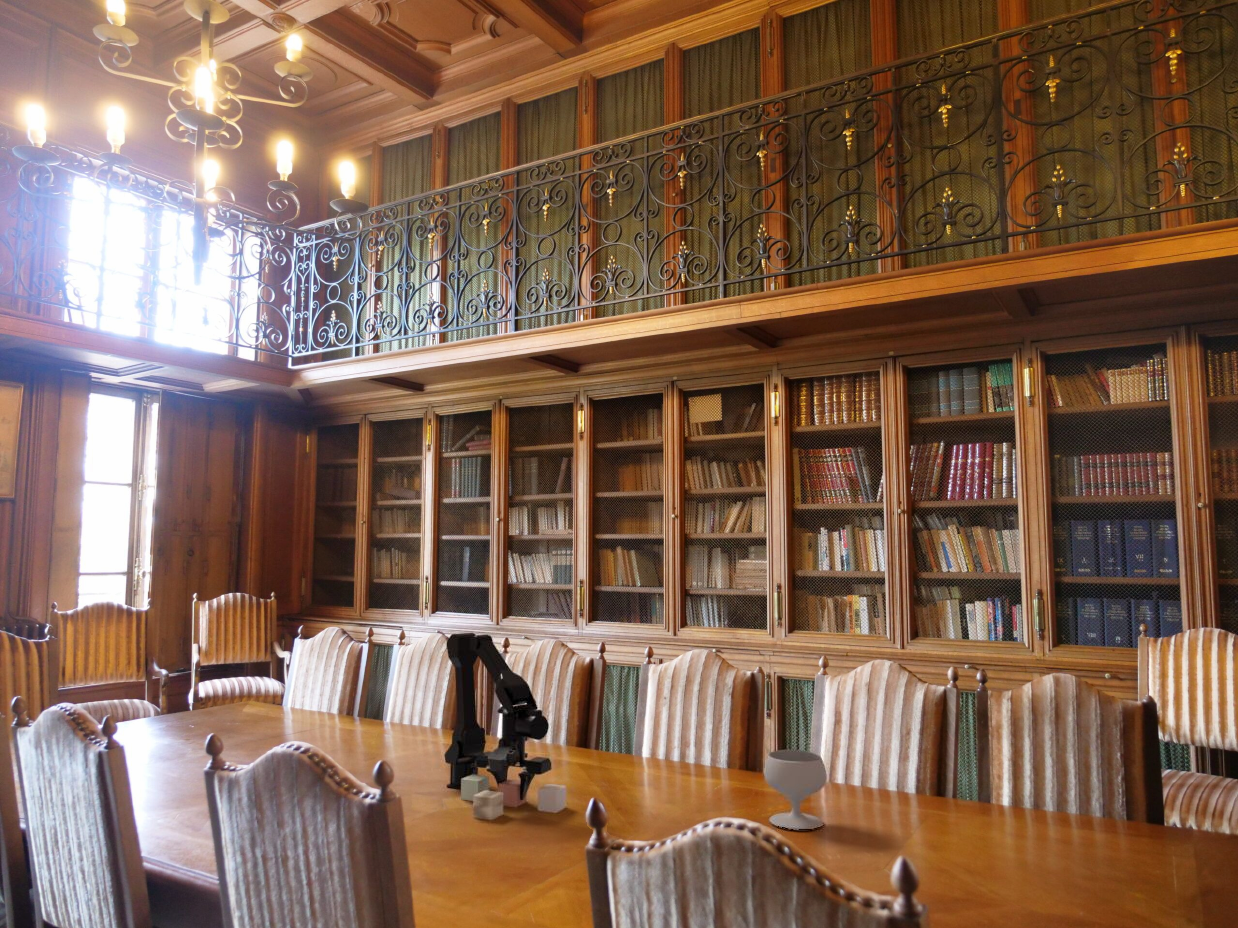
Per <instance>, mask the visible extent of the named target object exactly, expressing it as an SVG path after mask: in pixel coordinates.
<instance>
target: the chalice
mask: <svg viewBox="0 0 1238 928" xmlns="http://www.w3.org/2000/svg"><path fill="white" fill-rule="evenodd" d="M763 772H764V773H763V774H764V780H765V782H766V783H767V785H768V786H769V787H770V788H772V790H775V792H777V793H779V794H780V795H782V796H784V797H785V798H787V800H788V801H789V802H790V805H791V811H790V812H780V813H776V814H774V815H771V817H769V819H768V821H769V823H770V822H771V823H770V824H772V826H775V827H778V826H779V827H778V828H780V829H783V828H782V827H785V828H788V829H787V830H791V829H793V830H792V831H800V830H799V829H810V828H815V827H818V826H821V825H822V824H823V823H824V821H823V820H822V819H821V818H820V817H818V816H815V815H813V814H809V813H804V812H803V813H802V812H801V805H802V803H803V802H804V800H805V799H807V798H808V797H811V796H812V795H814V794H817V793H818V792H820V791H821V790H822V789H823V788H824V786H825V785H826V783H827V777H828V776H827V770H826V767H825V763H824V761H823V759H822V757H821V755H820V754H818V753H816V752H813V751H809V750H803V749H780V750H779V749H778V750H773V751H771V752H769V754H768V756H767V758H766V761H765V765H764V771H763ZM822 821H823V822H822ZM823 825H824V824H823ZM785 828H784V829H785Z"/></svg>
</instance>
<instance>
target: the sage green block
mask: <svg viewBox="0 0 1238 928" xmlns="http://www.w3.org/2000/svg"><path fill="white" fill-rule="evenodd" d="M485 790H488V791H490V775H489V776H488V775H481V774H478V775H474V774H472V775H470V776H467V777H465V778H462V779H461V789H460V800H461V801H462V800H463V801H470V802H473V796H474V795H476V794H478V793H480V792H482V791H485Z"/></svg>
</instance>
